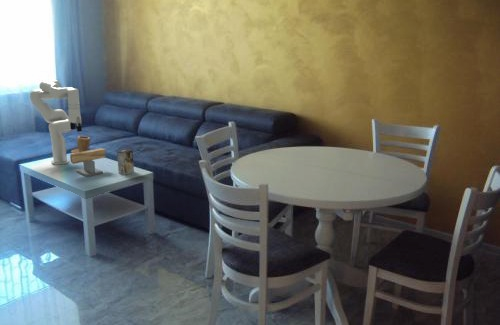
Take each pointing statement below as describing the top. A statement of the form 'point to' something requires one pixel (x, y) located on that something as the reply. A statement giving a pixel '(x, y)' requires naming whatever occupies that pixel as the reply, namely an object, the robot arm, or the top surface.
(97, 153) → the oak batten
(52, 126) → the robot arm
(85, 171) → the ridge stand
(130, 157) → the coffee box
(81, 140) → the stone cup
